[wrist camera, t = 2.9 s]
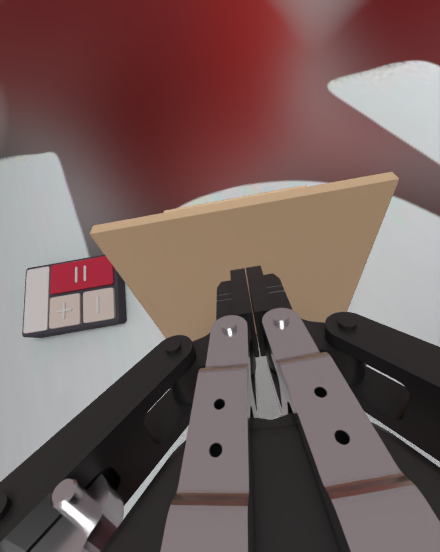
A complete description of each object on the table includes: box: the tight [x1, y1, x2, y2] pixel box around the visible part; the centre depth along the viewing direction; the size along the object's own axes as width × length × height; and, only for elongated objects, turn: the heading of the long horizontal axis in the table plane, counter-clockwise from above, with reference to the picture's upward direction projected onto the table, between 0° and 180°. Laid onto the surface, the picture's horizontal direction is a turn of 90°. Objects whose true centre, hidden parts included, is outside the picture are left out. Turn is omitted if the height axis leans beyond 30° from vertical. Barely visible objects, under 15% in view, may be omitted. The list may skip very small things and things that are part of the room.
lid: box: [90, 172, 399, 341], centre depth 21 cm, size 16×18×1 cm
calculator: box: [22, 255, 127, 338], centre depth 40 cm, size 11×4×15 cm
